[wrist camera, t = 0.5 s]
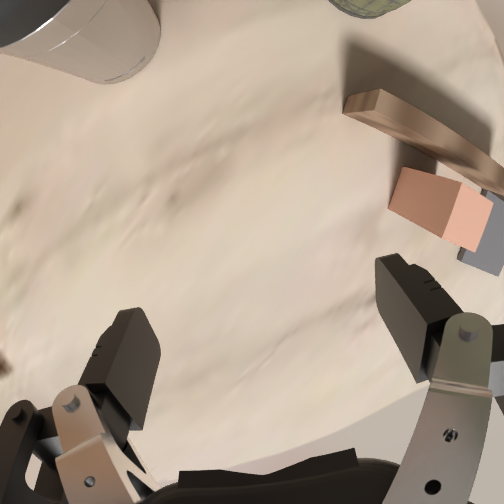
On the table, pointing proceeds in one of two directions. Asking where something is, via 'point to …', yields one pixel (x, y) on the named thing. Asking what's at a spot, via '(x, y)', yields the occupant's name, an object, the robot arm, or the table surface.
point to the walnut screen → (425, 136)
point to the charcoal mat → (489, 240)
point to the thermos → (368, 7)
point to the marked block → (441, 207)
